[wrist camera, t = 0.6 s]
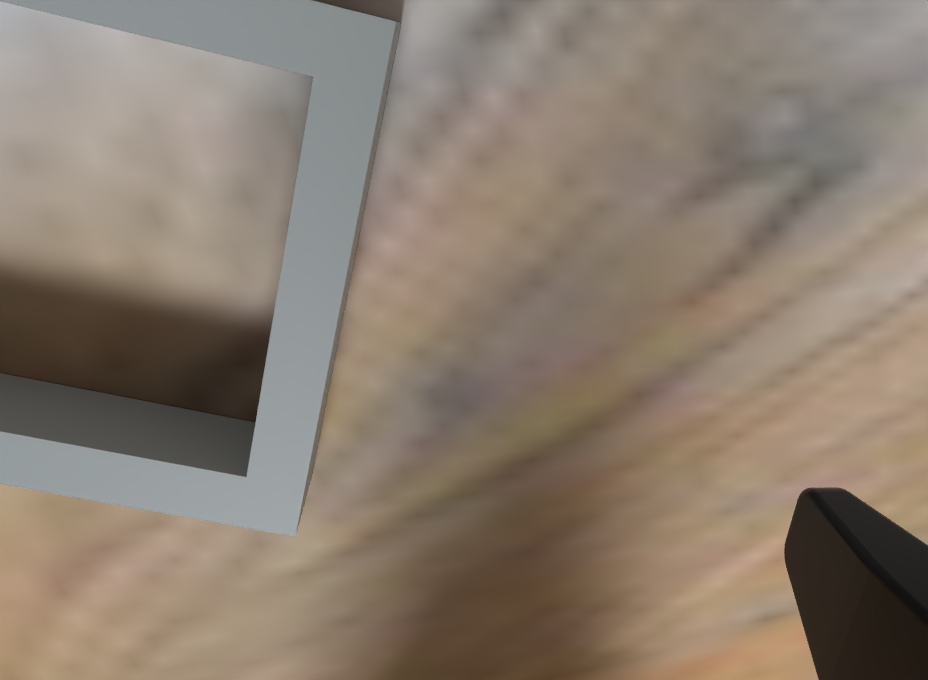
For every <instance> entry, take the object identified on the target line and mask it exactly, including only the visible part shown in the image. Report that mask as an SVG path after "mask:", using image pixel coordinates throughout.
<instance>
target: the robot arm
mask: <svg viewBox="0 0 928 680" xmlns="http://www.w3.org/2000/svg"><path fill="white" fill-rule="evenodd" d="M784 554H785V563H786V568H787V571H788V575H789V578H790V582H791V585H792V588H793V592H794V595H795V599H796V602H797V606H798V609H799V613H800V616H801V620H802V623H803V627H804V630H805V634H806V637H807V641H808V644H809V648H810V651H811V655H812V658H813V662H814V665H815V669H816V672H817V675H818V679H819V680H928V545H927V544H925V543H924V542H922V541H921V540H919V539H918V538H916V537H915V536H913V535H912V534H910V533H909V532H907V531H906V530H904V529H903V528H901V527H900V526H899V525H897V524H896V523H894V522H893V521H891V520H890V519H888V518H887V517H885V516H884V515H882V514H881V513H879V512H878V511H876V510H875V509H873V508H872V507H870V506H869V505H868V504H866V503H865V502H863V501H862V500H860V499H859V498H857V497H856V496H854V495H853V494H851V493H850V492H848V491H846V490H845V489H842V488H807V489H805V490H803V491H802V493H801V494H800V495H799V498H798V500H797V504H796V507H795V511H794V514H793V517H792V521H791V524H790V528H789V531H788V535H787V538H786V542H785V550H784Z"/></svg>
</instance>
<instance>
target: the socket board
mask: <svg viewBox="0 0 928 680" xmlns="http://www.w3.org/2000/svg"><path fill="white" fill-rule="evenodd" d="M0 1H2V2H6V3H10V4H14V5H18V6H22V7H26V8H30V9H35V10H39V11H43V12H47V13H51V14H55V15H59V16H63V17H68V18H72V19H76V20H80V21H84V22H88V23H92V24H97V25H101V26H105V27H109V28H113V29H117V30H121V31H125V32H130V33H134V34H138V35H142V36H146V37H150V38H154V39H159V40H163V41H167V42H171V43H175V44H179V45H183V46H187V47H192V48H196V49H200V50H204V51H208V52H212V53H216V54H220V55H225V56H229V57H233V58H237V59H241V60H245V61H249V62H254V63H258V64H262V65H266V66H270V67H274V68H278V69H282V70H287V71H291V72H295V73H299V74H303V75H307V76H311V77H313V82H312V88H311V94H310V100H309V106H308V112H307V118H306V124H305V130H304V136H303V142H302V148H301V154H300V160H299V166H298V172H297V178H296V184H295V190H294V196H293V202H292V208H291V214H290V220H289V226H288V232H287V238H286V244H285V249H284V255H283V261H282V267H281V273H280V279H279V285H278V291H277V297H276V303H275V309H274V315H273V321H272V327H271V333H270V339H269V345H268V351H267V357H266V363H265V369H264V375H263V381H262V387H261V393H260V399H259V405H258V411H257V417H256V422H251V421H246V420H241V419H235V418H230V417H225V416H220V415H215V414H210V413H204V412H199V411H194V410H189V409H184V408H179V407H173V406H168V405H163V404H158V403H153V402H148V401H142V400H137V399H132V398H127V397H122V396H117V395H111V394H106V393H101V392H96V391H91V390H86V389H80V388H75V387H70V386H65V385H60V384H55V383H49V382H44V381H39V380H34V379H29V378H24V377H18V376H13V375H8V374H3V373H0V484H3V485H9V486H14V487H20V488H25V489H31V490H36V491H42V492H48V493H53V494H59V495H64V496H70V497H76V498H81V499H87V500H92V501H98V502H103V503H109V504H115V505H120V506H126V507H131V508H137V509H143V510H148V511H154V512H159V513H165V514H170V515H176V516H182V517H187V518H193V519H198V520H204V521H210V522H215V523H221V524H226V525H232V526H237V527H243V528H249V529H254V530H260V531H265V532H271V533H276V534H282V535H288V536H293V537H295V536H296V533H297V529H298V525H299V522H300V518H301V514H302V511H303V507H304V503H305V500H306V496H307V492H308V489H309V485H310V481H311V477H312V472H313V467H314V462H315V457H316V452H317V447H318V442H319V437H320V432H321V427H322V422H323V416H324V411H325V406H326V401H327V396H328V391H329V386H330V381H331V376H332V371H333V366H334V361H335V356H336V351H337V346H338V341H339V335H340V330H341V325H342V320H343V315H344V310H345V305H346V300H347V295H348V290H349V285H350V280H351V275H352V270H353V265H354V260H355V255H356V249H357V244H358V239H359V234H360V229H361V224H362V219H363V214H364V209H365V204H366V199H367V194H368V189H369V184H370V179H371V174H372V169H373V163H374V158H375V153H376V148H377V143H378V138H379V133H380V128H381V123H382V118H383V113H384V108H385V103H386V98H387V93H388V88H389V82H390V77H391V72H392V67H393V62H394V57H395V52H396V47H397V42H398V37H399V32H400V27H401V23H400V22H396V21H392V20H388V19H384V18H380V17H376V16H372V15H368V14H364V13H360V12H356V11H352V10H348V9H344V8H340V7H336V6H333V5H329V4H325V3H321V2H317V1H313V0H0Z"/></svg>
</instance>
